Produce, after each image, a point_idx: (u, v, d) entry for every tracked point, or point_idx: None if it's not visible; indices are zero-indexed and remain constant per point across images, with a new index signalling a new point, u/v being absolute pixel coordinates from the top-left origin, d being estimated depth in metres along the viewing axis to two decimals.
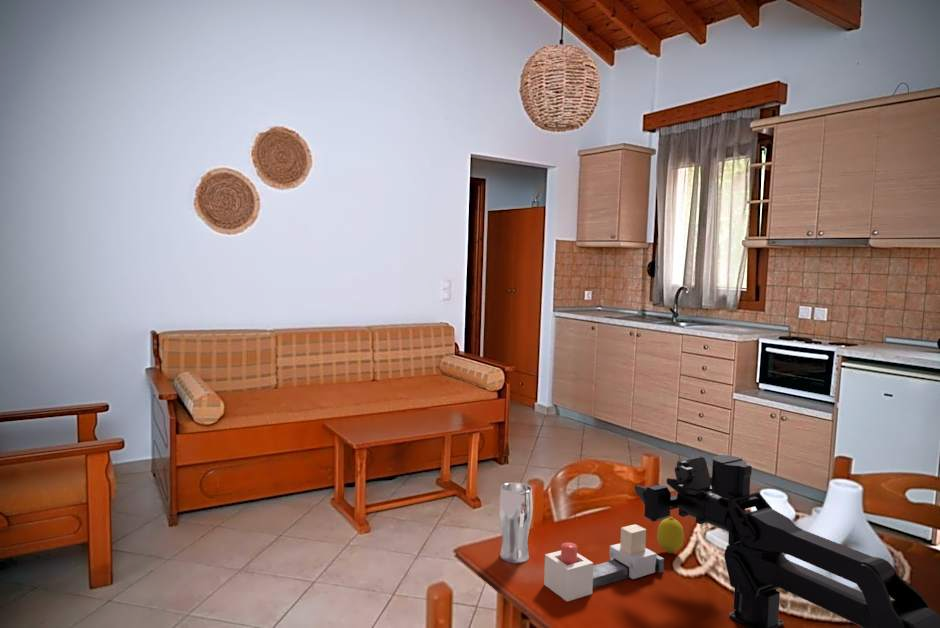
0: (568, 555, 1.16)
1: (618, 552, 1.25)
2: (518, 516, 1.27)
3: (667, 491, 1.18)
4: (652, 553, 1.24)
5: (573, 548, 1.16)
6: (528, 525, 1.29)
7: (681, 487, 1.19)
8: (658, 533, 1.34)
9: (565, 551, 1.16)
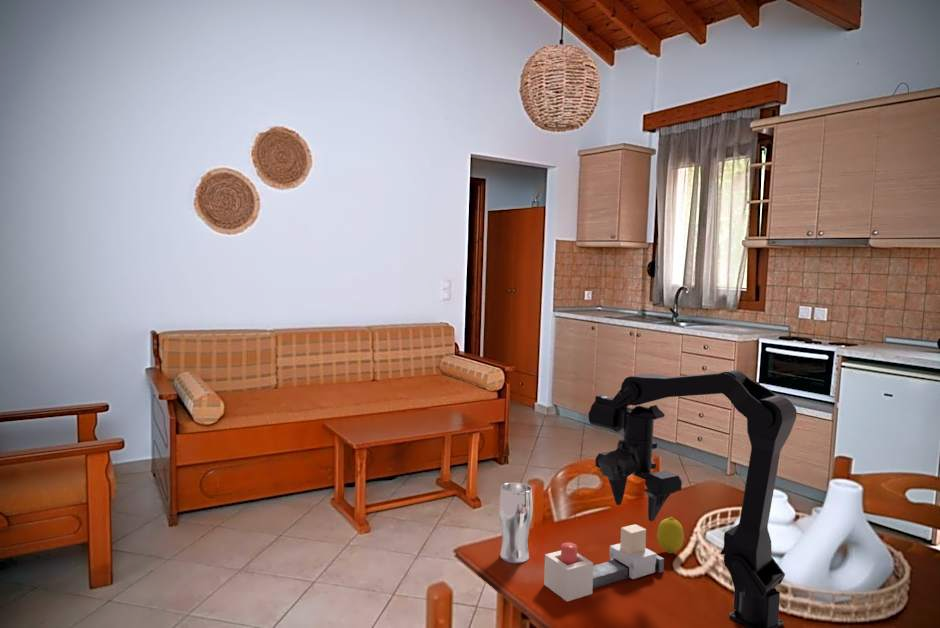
0: (568, 555, 1.16)
1: (618, 552, 1.25)
2: (518, 516, 1.27)
3: (649, 476, 1.18)
4: (652, 553, 1.24)
5: (573, 548, 1.16)
6: (528, 525, 1.29)
7: (636, 468, 1.21)
8: (658, 533, 1.34)
9: (565, 551, 1.16)
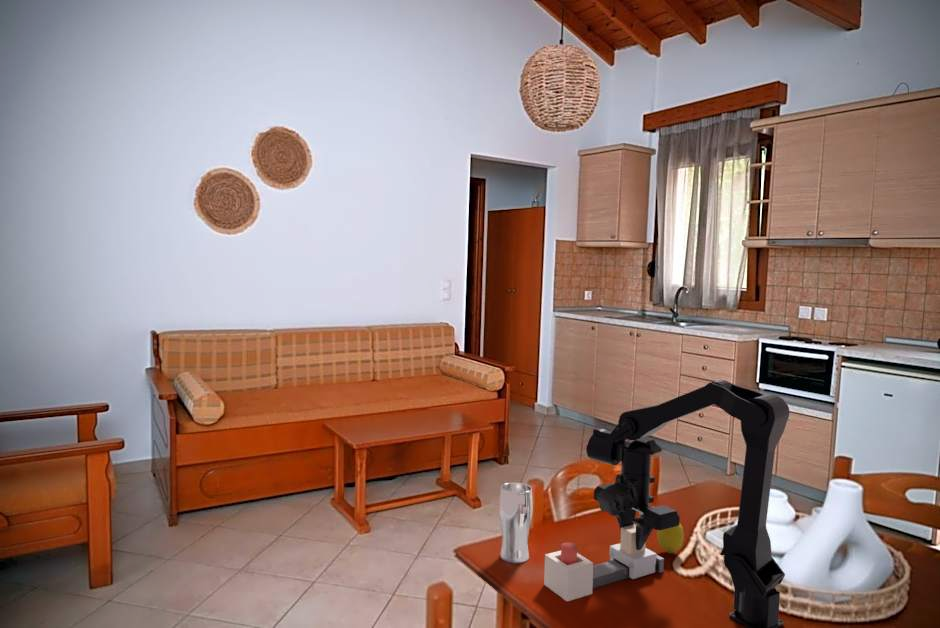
0: (568, 555, 1.16)
1: (618, 552, 1.25)
2: (518, 516, 1.27)
3: (647, 511, 1.19)
4: (652, 553, 1.24)
5: (573, 548, 1.16)
6: (528, 525, 1.29)
7: (634, 503, 1.21)
8: (658, 533, 1.34)
9: (565, 551, 1.16)
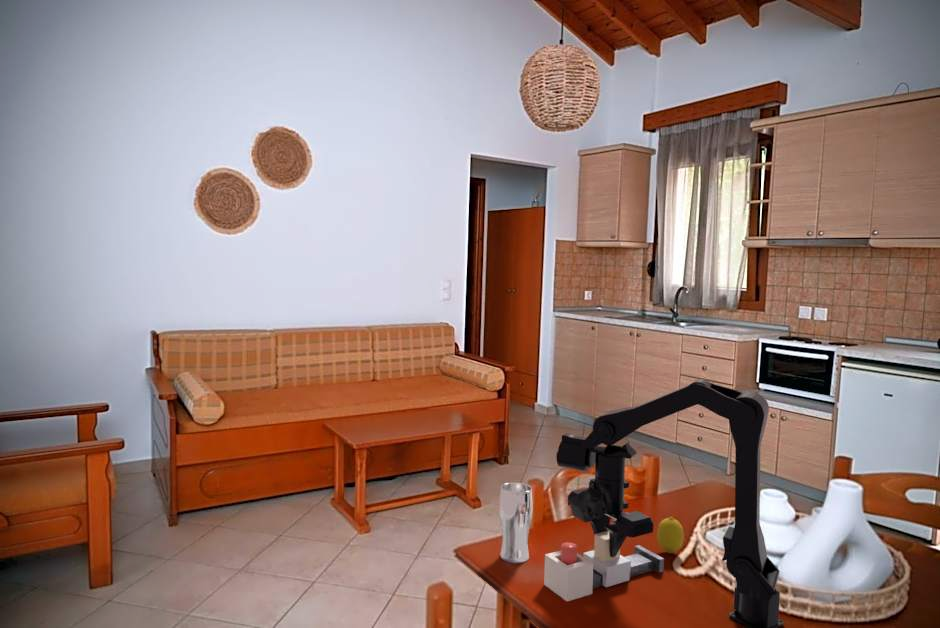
0: (568, 555, 1.16)
1: (592, 559, 1.22)
2: (518, 516, 1.27)
3: (620, 518, 1.15)
4: (626, 560, 1.21)
5: (573, 548, 1.16)
6: (528, 525, 1.29)
7: (607, 509, 1.18)
8: (658, 533, 1.34)
9: (565, 551, 1.16)
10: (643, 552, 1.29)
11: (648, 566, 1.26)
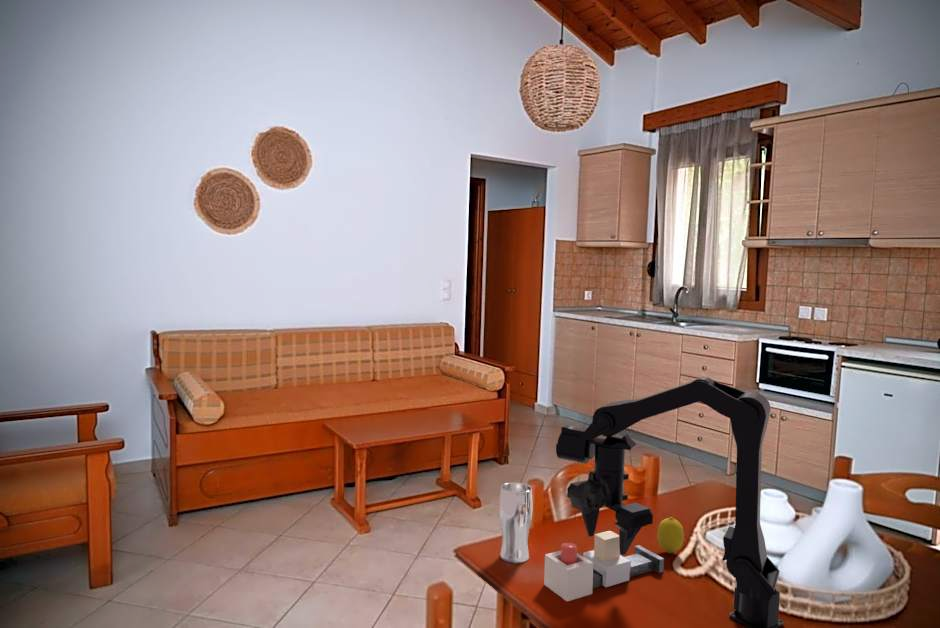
0: (568, 555, 1.16)
1: (591, 559, 1.22)
2: (518, 516, 1.27)
3: (619, 509, 1.15)
4: (626, 560, 1.21)
5: (573, 548, 1.16)
6: (528, 525, 1.29)
7: (606, 501, 1.18)
8: (658, 533, 1.34)
9: (565, 551, 1.16)
10: (643, 552, 1.29)
11: (648, 566, 1.26)
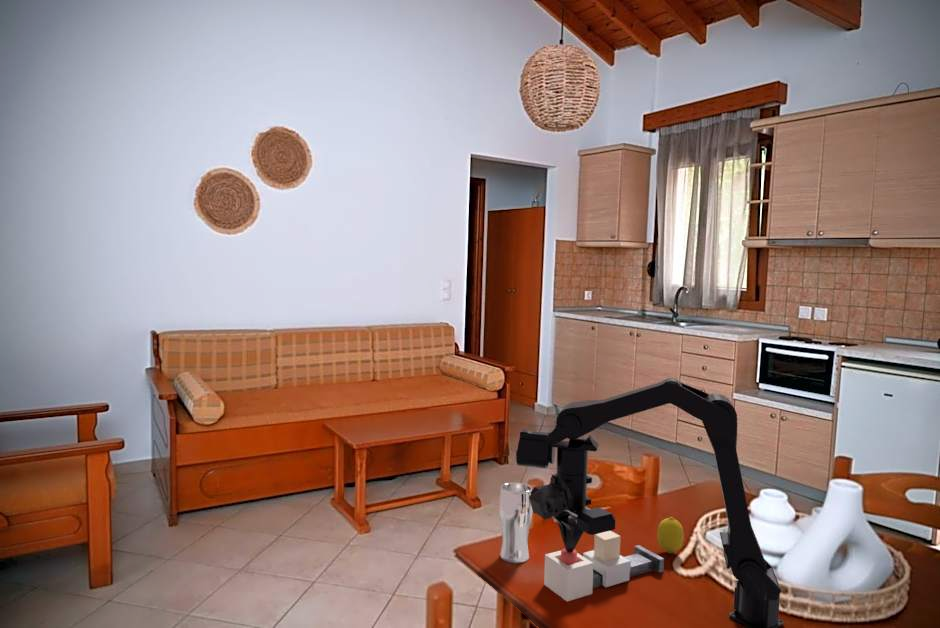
0: (568, 561, 1.16)
1: (591, 559, 1.22)
2: (518, 516, 1.27)
3: (581, 514, 1.10)
4: (626, 560, 1.21)
5: (573, 554, 1.16)
6: (528, 525, 1.29)
7: (568, 505, 1.13)
8: (658, 533, 1.34)
9: (565, 557, 1.16)
10: (643, 552, 1.29)
11: (648, 566, 1.26)
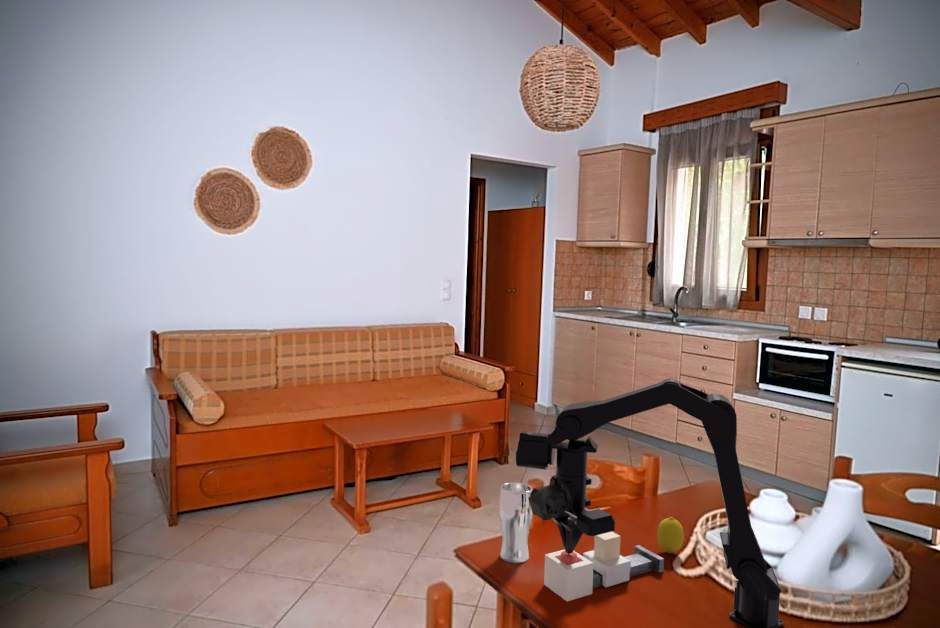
0: (568, 563, 1.16)
1: (591, 559, 1.22)
2: (518, 516, 1.27)
3: (580, 516, 1.10)
4: (626, 560, 1.21)
5: (573, 557, 1.17)
6: (528, 525, 1.29)
7: (567, 507, 1.13)
8: (658, 533, 1.34)
9: (565, 560, 1.16)
10: (643, 552, 1.29)
11: (648, 566, 1.26)
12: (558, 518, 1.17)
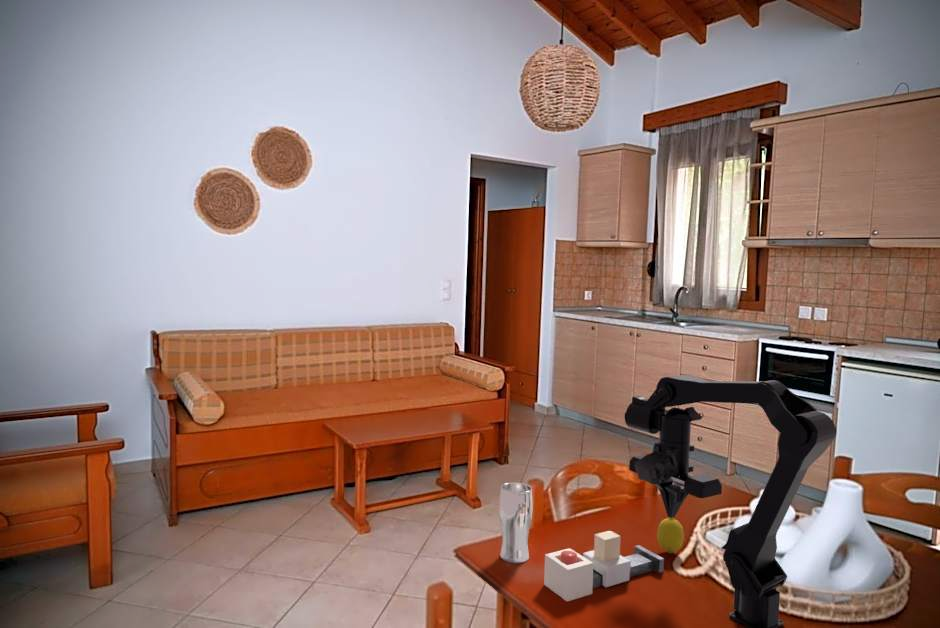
0: (568, 563, 1.16)
1: (591, 559, 1.22)
2: (518, 516, 1.27)
3: (688, 479, 1.15)
4: (626, 560, 1.21)
5: (573, 557, 1.17)
6: (528, 525, 1.29)
7: (674, 472, 1.17)
8: (658, 533, 1.34)
9: (565, 560, 1.16)
10: (643, 552, 1.29)
11: (648, 566, 1.26)
12: (661, 483, 1.21)
